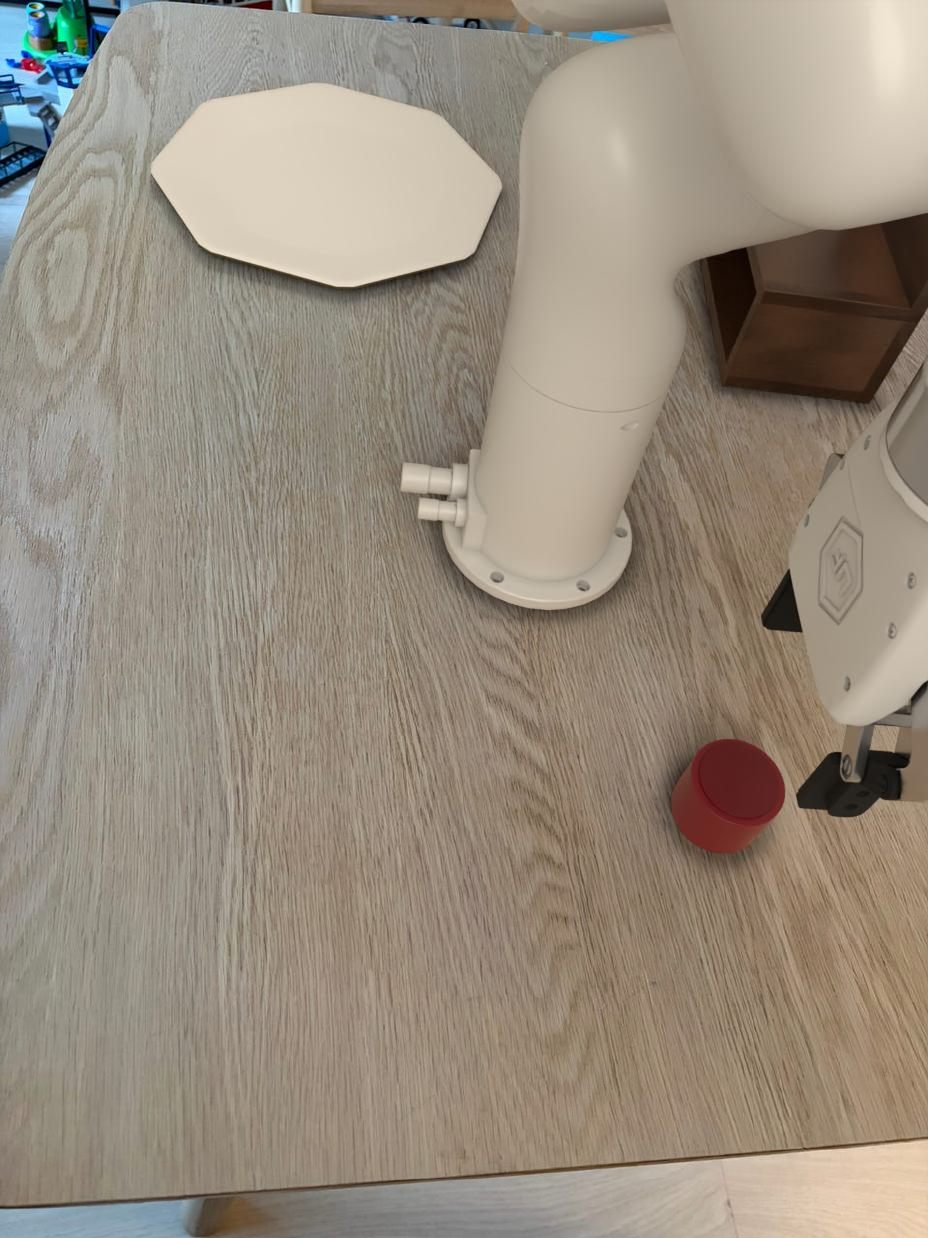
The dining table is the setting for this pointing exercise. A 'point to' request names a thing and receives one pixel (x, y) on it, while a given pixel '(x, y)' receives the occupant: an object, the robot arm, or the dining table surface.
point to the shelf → (819, 308)
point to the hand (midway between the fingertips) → (808, 710)
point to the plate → (327, 185)
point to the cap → (727, 796)
